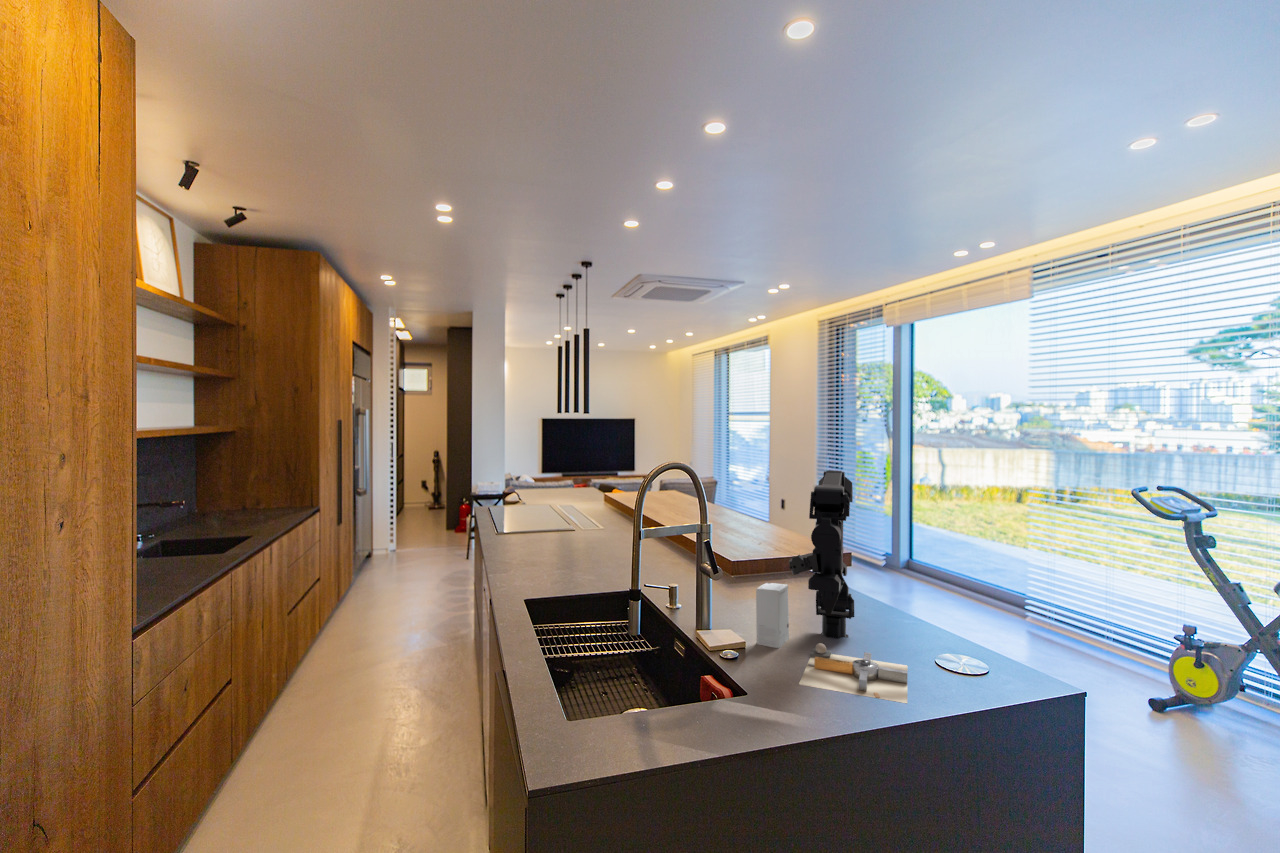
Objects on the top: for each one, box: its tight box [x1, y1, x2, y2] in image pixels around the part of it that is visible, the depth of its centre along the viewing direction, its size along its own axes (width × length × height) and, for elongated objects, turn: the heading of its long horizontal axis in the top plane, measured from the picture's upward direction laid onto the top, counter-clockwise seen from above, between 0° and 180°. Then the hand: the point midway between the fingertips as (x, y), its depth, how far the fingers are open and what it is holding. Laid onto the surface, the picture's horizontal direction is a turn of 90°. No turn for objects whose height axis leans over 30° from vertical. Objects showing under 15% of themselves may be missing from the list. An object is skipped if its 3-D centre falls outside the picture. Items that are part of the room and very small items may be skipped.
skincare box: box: [755, 582, 790, 649], centre depth 146 cm, size 8×6×15 cm
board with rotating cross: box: [798, 642, 909, 704], centre depth 125 cm, size 20×20×4 cm
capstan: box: [815, 651, 909, 691], centre depth 125 cm, size 16×18×3 cm
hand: (828, 614), depth 133 cm, fingers closed
